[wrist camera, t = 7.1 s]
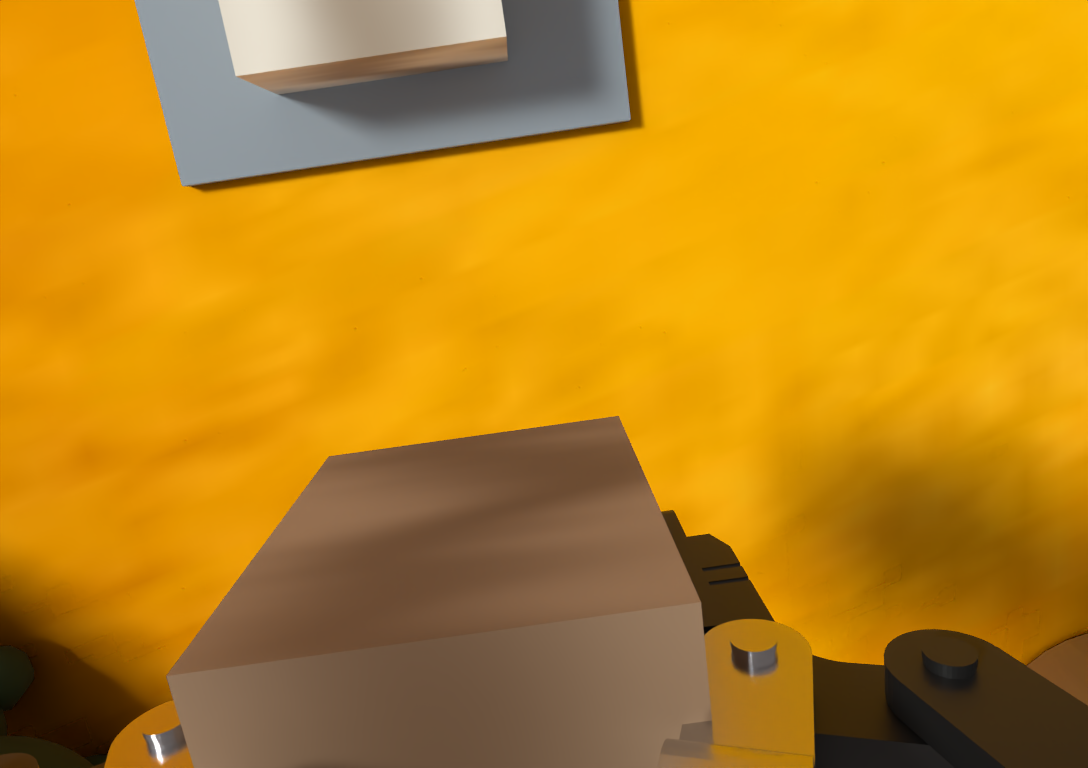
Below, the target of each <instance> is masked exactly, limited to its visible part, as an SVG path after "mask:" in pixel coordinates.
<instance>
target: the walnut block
mask: <svg viewBox="0 0 1088 768" xmlns="http://www.w3.org/2000/svg"><path fill="white" fill-rule="evenodd" d="M166 677H167V680H168V684H169V687H170V690H171V694H172V697H173V700H174V704H175V707H176V710H177V713H178V717H179V720H180V723H181V727H182V730H183V733H184V737H185V740H186V743H187V747H188V750H189V753H190V756H191V760H192V763H193V766H194V768H657V764H658V760H659V756H660V752H661V748H662V746H663V743H664V741H665V740H666V739H667V738H669V739H678V740H679V737H680V733H681V728H682V724H689V723H696V722H704V721H711V720H712V714H711V704H710V693H709V682H708V672H707V661H706V650H705V640H704V629H703V618H702V608H701V601H700V599H699V597H698V594H697V592H696V590H695V587H694V585H693V583H692V581H691V578H690V576H689V574H688V572H687V569H686V567H685V565H684V563H683V560H682V558H681V556H680V554H679V551H678V549H677V547H676V545H675V542H674V540H673V538H672V536H671V533H670V531H669V529H668V527H667V524H666V522H665V520H664V518H663V515H662V513H661V511H660V509H659V506H658V504H657V502H656V500H655V497H654V495H653V493H652V491H651V488H650V486H649V484H648V482H647V479H646V477H645V475H644V473H643V470H642V468H641V466H640V464H639V461H638V459H637V457H636V455H635V452H634V450H633V448H632V446H631V443H630V441H629V439H628V437H627V434H626V432H625V430H624V427H623V425H622V423H621V421H620V418H619V416H615V417H608V418H601V419H594V420H587V421H580V422H572V423H565V424H558V425H551V426H544V427H537V428H529V429H522V430H515V431H508V432H501V433H494V434H486V435H479V436H472V437H465V438H458V439H451V440H444V441H436V442H429V443H422V444H415V445H408V446H401V447H393V448H386V449H379V450H372V451H365V452H358V453H350V454H343V455H336V456H329V457H328V458H327V460H326V461H325V462H324V464H323V465H322V467H321V468H320V469H319V471H318V472H317V473H316V475H315V476H314V477H313V479H312V480H311V481H310V483H309V484H308V485H307V487H306V488H305V489H304V491H303V492H302V494H301V495H300V496H299V498H298V499H297V500H296V502H295V503H294V504H293V506H292V507H291V508H290V510H289V511H288V512H287V514H286V515H285V516H284V518H283V519H282V521H281V522H280V523H279V525H278V526H277V527H276V529H275V530H274V531H273V533H272V534H271V535H270V537H269V538H268V539H267V541H266V542H265V543H264V545H263V546H262V548H261V549H260V550H259V552H258V553H257V554H256V556H255V557H254V558H253V560H252V561H251V562H250V564H249V565H248V566H247V568H246V569H245V570H244V572H243V573H242V575H241V576H240V577H239V579H238V580H237V581H236V583H235V584H234V585H233V587H232V588H231V589H230V591H229V592H228V593H227V595H226V596H225V597H224V599H223V600H222V601H221V603H220V604H219V606H218V607H217V608H216V610H215V611H214V612H213V614H212V615H211V616H210V618H209V619H208V620H207V622H206V623H205V624H204V626H203V627H202V628H201V630H200V631H199V633H198V634H197V635H196V637H195V638H194V639H193V641H192V642H191V643H190V645H189V646H188V647H187V649H186V650H185V651H184V653H183V654H182V655H181V657H180V658H179V660H178V661H177V662H176V664H175V665H174V666H173V668H172V669H171V670H170V672H169V673H168V674H167V676H166Z"/></svg>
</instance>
